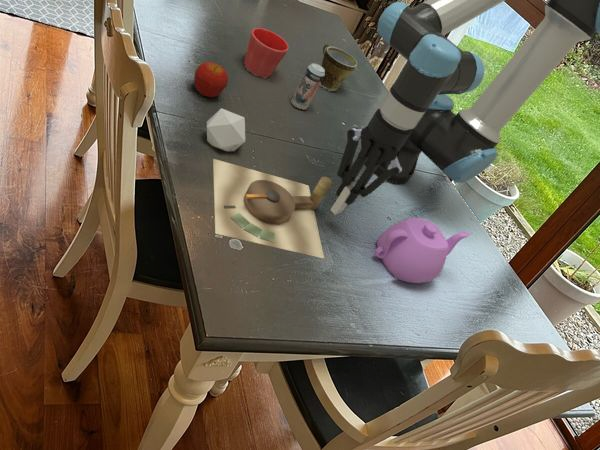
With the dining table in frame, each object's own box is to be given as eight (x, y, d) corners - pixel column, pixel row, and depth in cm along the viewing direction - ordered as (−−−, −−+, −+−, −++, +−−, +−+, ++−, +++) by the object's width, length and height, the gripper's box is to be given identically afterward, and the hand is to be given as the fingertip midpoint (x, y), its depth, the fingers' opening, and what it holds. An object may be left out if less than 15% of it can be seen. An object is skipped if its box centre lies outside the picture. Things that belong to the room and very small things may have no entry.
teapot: (380, 288, 115) (412, 248, 108) (356, 238, 123) (384, 199, 116) (453, 290, 125) (486, 254, 118) (426, 245, 133) (456, 208, 126)
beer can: (287, 103, 153) (307, 64, 146) (294, 98, 157) (313, 60, 150) (302, 113, 153) (323, 75, 146) (309, 107, 157) (328, 70, 149)
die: (220, 166, 121) (258, 138, 120) (193, 133, 118) (232, 103, 117) (219, 156, 129) (255, 129, 128) (194, 124, 126) (230, 97, 125)
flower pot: (282, 77, 162) (296, 47, 157) (260, 84, 154) (274, 53, 148) (254, 56, 164) (267, 25, 159) (231, 62, 156) (244, 30, 150)
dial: (251, 224, 109) (266, 197, 104) (232, 188, 114) (245, 160, 110) (326, 222, 120) (342, 197, 115) (305, 189, 125) (320, 164, 121)
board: (306, 189, 128) (309, 185, 127) (321, 262, 112) (324, 257, 111) (211, 163, 120) (213, 158, 119) (213, 237, 104) (215, 232, 103)
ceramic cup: (347, 96, 172) (363, 68, 167) (322, 94, 166) (338, 65, 160) (324, 70, 179) (339, 42, 173) (300, 68, 172) (314, 38, 166)
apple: (217, 87, 143) (228, 60, 138) (223, 106, 138) (235, 78, 133) (187, 80, 139) (197, 52, 135) (192, 99, 134) (203, 70, 130)
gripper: (431, 137, 105) (368, 226, 119) (379, 94, 109) (323, 185, 123) (414, 145, 100) (349, 237, 114) (359, 99, 103) (303, 194, 117)
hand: (336, 210), depth 118 cm, fingers closed
